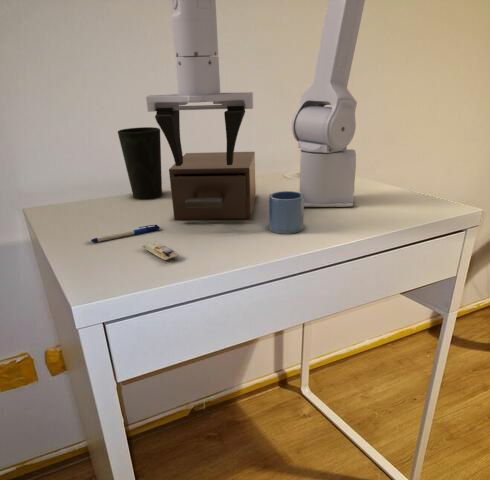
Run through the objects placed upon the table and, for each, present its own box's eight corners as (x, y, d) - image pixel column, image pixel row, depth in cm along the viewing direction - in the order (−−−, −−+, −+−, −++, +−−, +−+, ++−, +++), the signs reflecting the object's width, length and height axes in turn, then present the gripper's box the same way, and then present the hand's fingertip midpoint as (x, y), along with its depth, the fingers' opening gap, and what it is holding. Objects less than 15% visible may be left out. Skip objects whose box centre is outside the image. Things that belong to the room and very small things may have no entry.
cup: (171, 190, 94) (164, 126, 88) (161, 200, 88) (153, 132, 82) (134, 191, 95) (125, 127, 89) (122, 201, 88) (111, 133, 82)
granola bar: (141, 249, 65) (140, 242, 64) (156, 245, 66) (155, 238, 65) (164, 263, 60) (163, 255, 59) (180, 258, 61) (179, 251, 60)
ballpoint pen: (157, 228, 73) (157, 222, 72) (160, 230, 72) (159, 224, 72) (91, 242, 68) (90, 236, 68) (93, 244, 68) (91, 237, 67)
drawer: (243, 228, 69) (242, 184, 66) (167, 228, 70) (162, 185, 67) (251, 196, 85) (250, 160, 82) (189, 197, 86) (186, 161, 83)
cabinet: (250, 219, 75) (249, 167, 71) (174, 220, 76) (168, 169, 72) (255, 196, 88) (254, 151, 84) (190, 197, 89) (186, 153, 85)
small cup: (302, 223, 73) (303, 190, 71) (303, 233, 68) (304, 199, 66) (269, 223, 73) (269, 191, 71) (268, 234, 69) (268, 200, 66)
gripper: (134, 59, 58) (149, 170, 65) (249, 54, 57) (252, 169, 64) (148, 59, 65) (160, 161, 71) (253, 55, 63) (255, 159, 70)
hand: (204, 164), depth 68 cm, fingers open, 7 cm apart
